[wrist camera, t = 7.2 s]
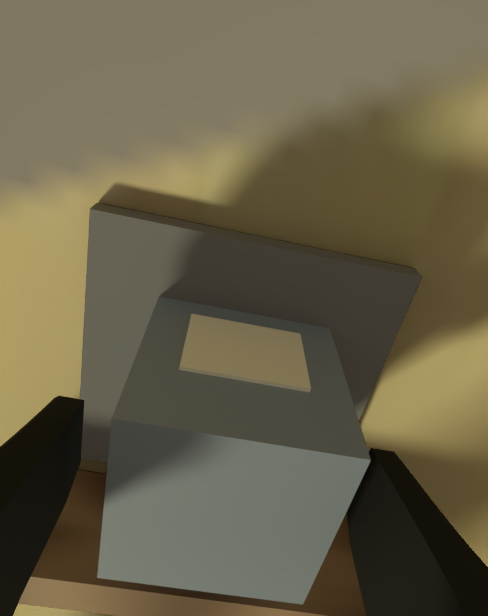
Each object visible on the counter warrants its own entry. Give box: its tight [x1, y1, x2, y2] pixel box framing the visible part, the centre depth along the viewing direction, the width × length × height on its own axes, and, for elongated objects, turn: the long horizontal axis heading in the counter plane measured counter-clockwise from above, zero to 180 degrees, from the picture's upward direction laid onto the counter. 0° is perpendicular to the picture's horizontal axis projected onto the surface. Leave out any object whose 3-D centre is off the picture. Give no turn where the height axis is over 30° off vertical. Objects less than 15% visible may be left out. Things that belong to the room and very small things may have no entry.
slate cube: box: [97, 297, 371, 605], centre depth 12 cm, size 5×5×5 cm
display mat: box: [80, 203, 422, 463], centre depth 14 cm, size 9×9×1 cm
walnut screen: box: [18, 470, 366, 616], centre depth 16 cm, size 14×2×4 cm, turn 78°
